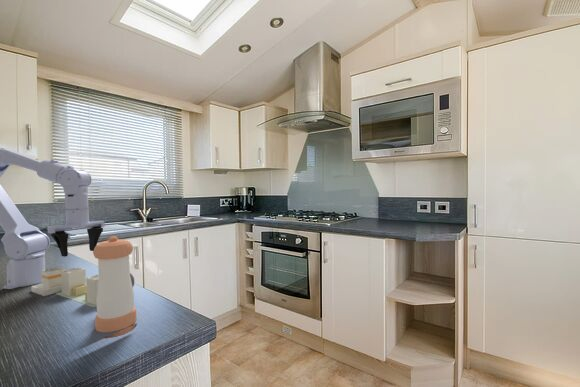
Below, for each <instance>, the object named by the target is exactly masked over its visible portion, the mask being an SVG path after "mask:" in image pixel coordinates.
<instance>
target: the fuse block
mask: <svg viewBox="0 0 580 387" xmlns="http://www.w3.org/2000/svg"><path fill="white" fill-rule="evenodd" d="M55 295H58V296H59V297H63V298H67V299H69V300H72V301H74V302H78V303H80V304H83V305H86V306H88V307H91V308H97V305H95V304H92V303H89V302H87V285H85V284H83V285H80V286H76V287H72V295H70V296H69V295H66V294H63V293H62V291H61V292H57V293H55Z"/></svg>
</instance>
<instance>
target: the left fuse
mask: <svg viewBox="0 0 580 387" xmlns="http://www.w3.org/2000/svg"><path fill="white" fill-rule="evenodd" d="M86 278H87V277H86V268H84V267H79V266H78V267H72V268H68V269H65V270H63V271H61V282H62V291H61V292H62V293H63V294H66V295H69V296H70V295H72V287H76V286H80V285H83V284H85V285H86Z"/></svg>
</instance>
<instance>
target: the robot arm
mask: <svg viewBox="0 0 580 387" xmlns="http://www.w3.org/2000/svg"><path fill="white" fill-rule="evenodd" d="M10 166H18V167H20V168H23V169H24V168H25V169H28V170H31V171H34V172H36V175H37V176H38V177H39V178H42V179H44V180H48V181H50V182H52V183H53V182H54V183H55V184H56V183H57V184H59V185H61V187H62V189H63V193H64V205H65V223H64V224H57V225H49V226H47V234H50V236H51V237H52V238H53V240H54V242H55V243H56V245H57V247H58V249H59V251H60V255H61V257H64V258H65V257H68V254H69V252H68V250H69V249H68V240H69V233H66V232H71V231H78V230H87V232H86V233H87V236H88V246H89V251H92V252H93V251H94V248H95V247H96V245H98V242H99V239H100V237H101V235H102V233H103V231H104V228H105V220H94V221H90V213H89V212H90V211H89V209H90V208H89V190H88V189H89V188H88V187H89V186H90V185H91V184H92V176H91V174H90V173H89V172H88V171H86V170H84V169H74V166H73V165H72V166H71V165H64V164H62V163H59V160H57V159H45V160H43V161H41V160H38V159H36V158H34V157H32V156H28V155H25V154H23V153H20V152H18V151H15V150H12V149H7V148H3V147H0V178H1V177H2V176H3V175H4V174H5V172H6V171H7V170H8V169H9V167H10ZM0 227H1V228H2V230H3V232H5V233H4V235H3V236H2V238H1V239H0V241H1V243H2V244H3V246H4V248H3V249H4V252H5V254H6V256H8V257H9V258H10V260H9V261H8V262H7V264H6V283H7V284H6V285H4V286H3V289H6V290H11V289H16V288H19V287H27V286H29V287H30V286H35V285H39V284H42V270H46V258H45V255H46V254H47V253H46V252H47V250H48V249H49V248H50V245H51V239H50V236H48V235H47V234H46V233H44V232H42V231H41V230H40V228H39V227H37V226H35V225H32V224H31V223H28V221H27V220H26V219H25V217H24V215H23V214H22V213H21V211H20V210H19V208H18V207H17V205H16V204H15V203H14V202H13V200H12V199H11V197H10V196H9V195H8V193H7V192H6V190H5V189H4V187H3V186H2V185H1V184H0Z"/></svg>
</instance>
